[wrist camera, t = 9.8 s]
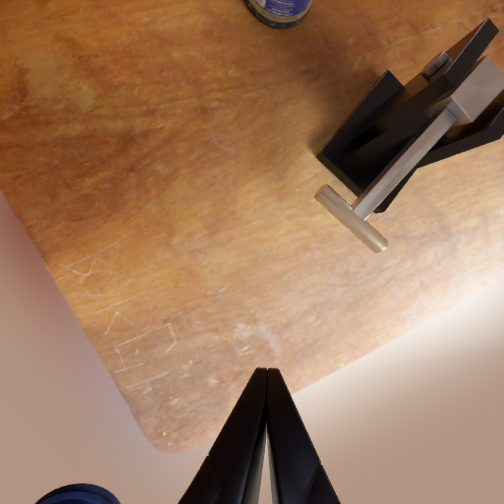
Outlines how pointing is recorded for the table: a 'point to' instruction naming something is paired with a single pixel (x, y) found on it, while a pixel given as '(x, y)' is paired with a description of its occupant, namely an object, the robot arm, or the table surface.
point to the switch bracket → (410, 119)
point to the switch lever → (417, 149)
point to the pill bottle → (280, 11)
